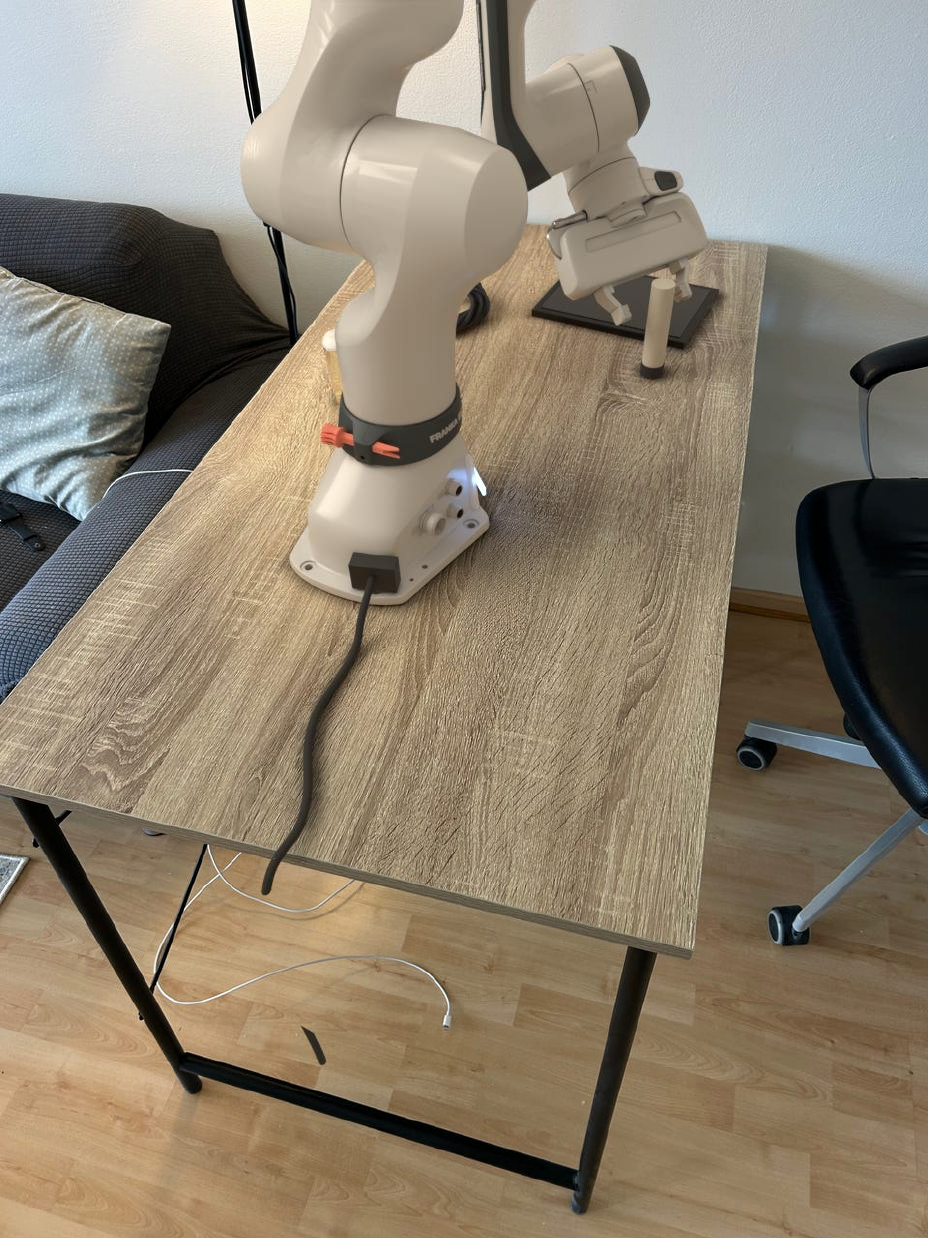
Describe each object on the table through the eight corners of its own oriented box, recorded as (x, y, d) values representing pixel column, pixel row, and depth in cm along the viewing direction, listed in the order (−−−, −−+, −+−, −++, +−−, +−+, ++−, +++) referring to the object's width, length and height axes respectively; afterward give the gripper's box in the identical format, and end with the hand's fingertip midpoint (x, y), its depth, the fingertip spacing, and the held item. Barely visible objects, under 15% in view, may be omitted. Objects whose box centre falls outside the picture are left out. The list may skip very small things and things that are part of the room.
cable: (500, 299, 129) (500, 270, 126) (474, 349, 120) (473, 319, 117) (388, 286, 133) (385, 258, 129) (354, 334, 123) (350, 305, 120)
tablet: (683, 349, 118) (684, 342, 117) (531, 315, 125) (531, 308, 125) (718, 295, 128) (719, 288, 127) (575, 267, 135) (575, 259, 134)
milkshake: (371, 408, 111) (362, 335, 104) (329, 409, 111) (316, 335, 104) (375, 388, 114) (366, 315, 107) (333, 388, 114) (321, 316, 107)
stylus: (658, 381, 113) (671, 291, 104) (636, 375, 114) (647, 286, 105) (666, 369, 115) (680, 279, 106) (644, 364, 116) (655, 275, 107)
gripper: (553, 211, 101) (599, 326, 103) (690, 168, 108) (732, 277, 110) (529, 236, 107) (574, 345, 109) (661, 194, 114) (701, 297, 116)
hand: (654, 310), depth 109 cm, fingers open, 8 cm apart
